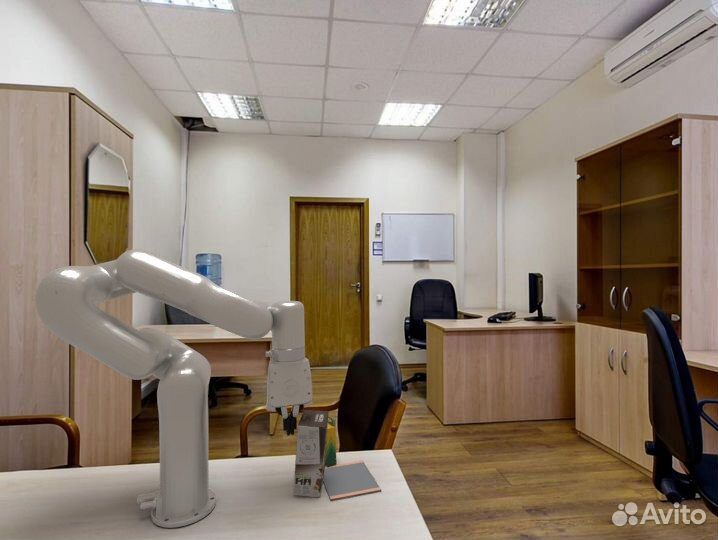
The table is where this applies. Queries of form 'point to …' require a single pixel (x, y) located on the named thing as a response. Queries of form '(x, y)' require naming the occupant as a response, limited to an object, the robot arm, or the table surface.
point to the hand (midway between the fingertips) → (290, 432)
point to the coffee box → (310, 453)
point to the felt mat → (349, 480)
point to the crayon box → (331, 444)
